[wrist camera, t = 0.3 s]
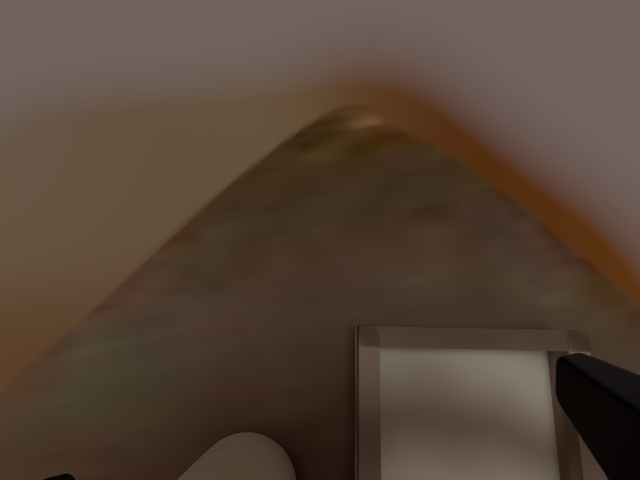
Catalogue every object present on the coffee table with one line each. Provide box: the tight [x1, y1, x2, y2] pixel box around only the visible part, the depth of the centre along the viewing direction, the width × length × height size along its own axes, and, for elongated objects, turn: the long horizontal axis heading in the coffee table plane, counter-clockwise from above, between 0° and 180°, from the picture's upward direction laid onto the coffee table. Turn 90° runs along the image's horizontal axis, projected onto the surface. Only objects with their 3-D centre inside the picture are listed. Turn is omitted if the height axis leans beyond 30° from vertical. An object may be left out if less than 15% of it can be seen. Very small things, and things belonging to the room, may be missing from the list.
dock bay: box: [355, 326, 607, 480], centre depth 20 cm, size 11×11×3 cm
